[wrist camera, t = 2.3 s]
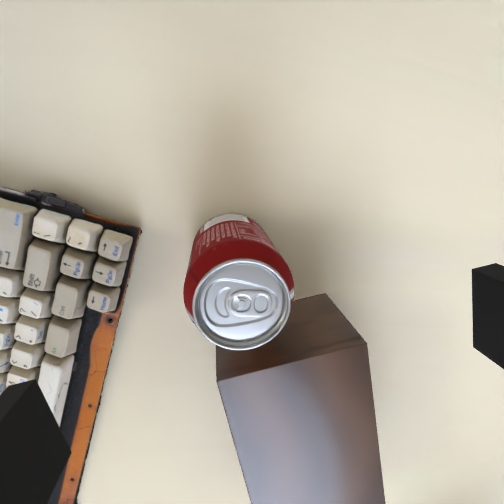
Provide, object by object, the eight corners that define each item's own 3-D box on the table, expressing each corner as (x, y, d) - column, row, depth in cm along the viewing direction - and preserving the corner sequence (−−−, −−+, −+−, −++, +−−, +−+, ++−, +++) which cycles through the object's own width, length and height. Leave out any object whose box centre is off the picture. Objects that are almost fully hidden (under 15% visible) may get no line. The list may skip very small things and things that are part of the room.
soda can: (193, 210, 28) (181, 245, 17) (270, 213, 29) (308, 250, 18) (192, 283, 30) (179, 360, 19) (264, 285, 31) (295, 359, 20)
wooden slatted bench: (258, 480, 38) (271, 575, 29) (215, 320, 31) (216, 381, 23) (349, 455, 38) (390, 541, 30) (325, 293, 32) (367, 343, 23)
